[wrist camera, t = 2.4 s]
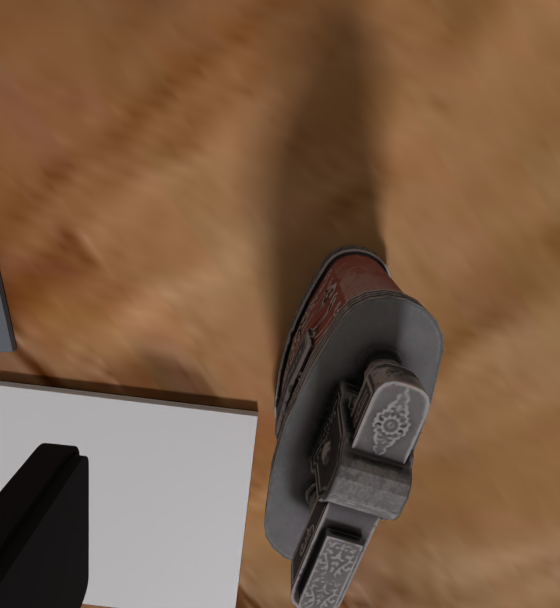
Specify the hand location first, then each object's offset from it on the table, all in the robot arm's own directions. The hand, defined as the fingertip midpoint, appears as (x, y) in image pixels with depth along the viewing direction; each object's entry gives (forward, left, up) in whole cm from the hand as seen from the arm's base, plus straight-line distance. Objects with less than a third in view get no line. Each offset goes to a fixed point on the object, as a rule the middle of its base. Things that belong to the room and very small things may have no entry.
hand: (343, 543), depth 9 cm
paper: (+9, +9, -11) cm, 18 cm away
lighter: (-1, 0, -12) cm, 12 cm away
